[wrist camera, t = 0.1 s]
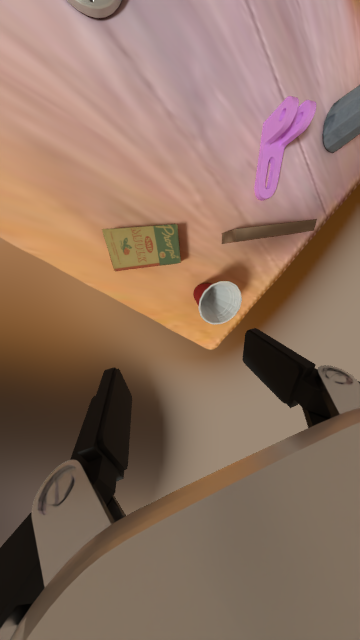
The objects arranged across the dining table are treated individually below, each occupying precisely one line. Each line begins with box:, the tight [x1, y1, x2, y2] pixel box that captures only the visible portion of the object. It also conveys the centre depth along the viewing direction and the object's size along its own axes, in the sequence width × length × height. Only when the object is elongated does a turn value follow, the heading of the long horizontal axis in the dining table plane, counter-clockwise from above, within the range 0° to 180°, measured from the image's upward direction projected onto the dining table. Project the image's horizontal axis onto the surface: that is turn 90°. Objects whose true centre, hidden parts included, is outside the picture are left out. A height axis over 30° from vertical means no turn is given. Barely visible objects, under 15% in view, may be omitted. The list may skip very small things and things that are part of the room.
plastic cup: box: [194, 281, 242, 324], centre depth 36 cm, size 11×11×12 cm
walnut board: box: [222, 219, 317, 244], centre depth 36 cm, size 2×24×6 cm, turn 98°
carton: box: [102, 224, 181, 271], centre depth 31 cm, size 8×16×4 cm, turn 96°
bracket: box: [255, 96, 316, 200], centre depth 29 cm, size 13×6×7 cm, turn 4°
